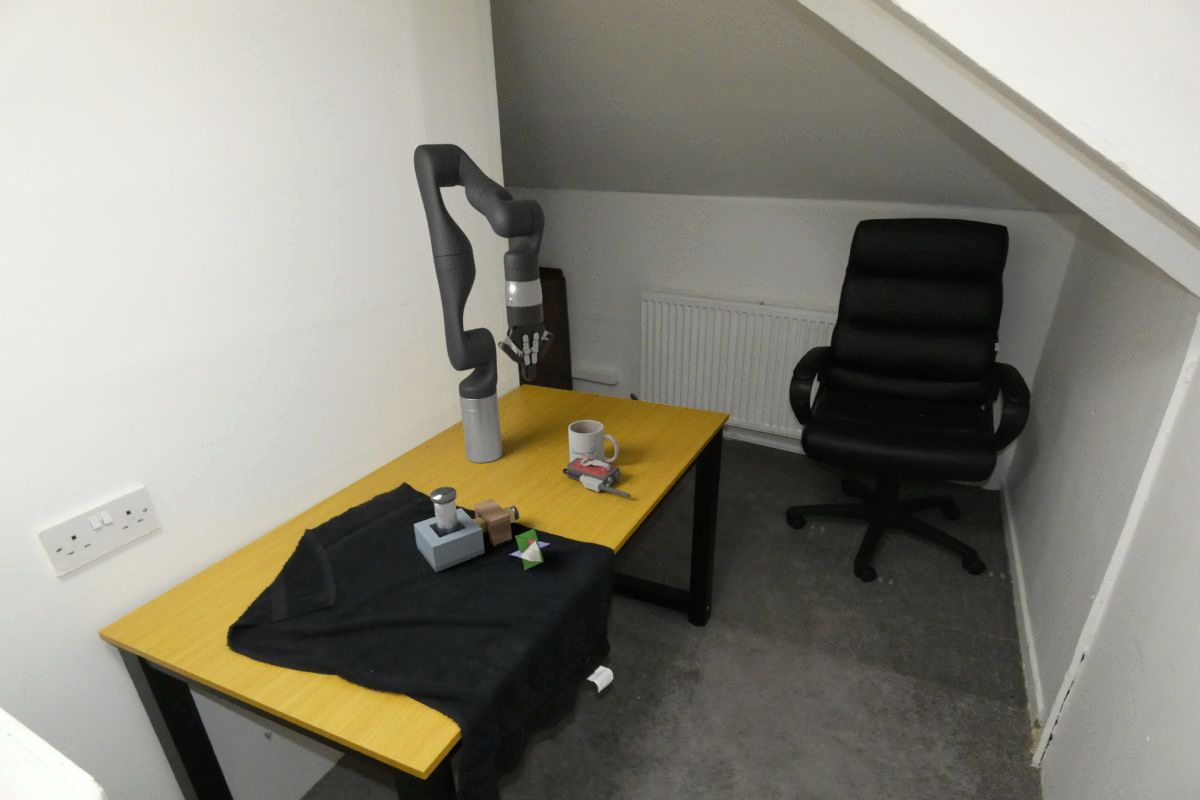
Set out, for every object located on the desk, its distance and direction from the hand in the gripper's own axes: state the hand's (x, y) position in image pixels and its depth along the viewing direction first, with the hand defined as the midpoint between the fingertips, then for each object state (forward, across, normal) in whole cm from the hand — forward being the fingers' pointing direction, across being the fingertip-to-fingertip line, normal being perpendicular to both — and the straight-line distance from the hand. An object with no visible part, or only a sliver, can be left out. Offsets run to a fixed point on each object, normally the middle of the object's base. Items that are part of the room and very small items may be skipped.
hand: (529, 379), depth 142 cm
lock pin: (+25, +17, +11) cm, 32 cm away
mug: (+27, -17, -2) cm, 32 cm away
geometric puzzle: (+27, +15, +24) cm, 39 cm away
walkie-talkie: (+27, -13, +7) cm, 31 cm away
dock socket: (+27, +26, +11) cm, 39 cm away
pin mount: (+27, +16, +11) cm, 33 cm away
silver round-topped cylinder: (+26, +26, +11) cm, 38 cm away
